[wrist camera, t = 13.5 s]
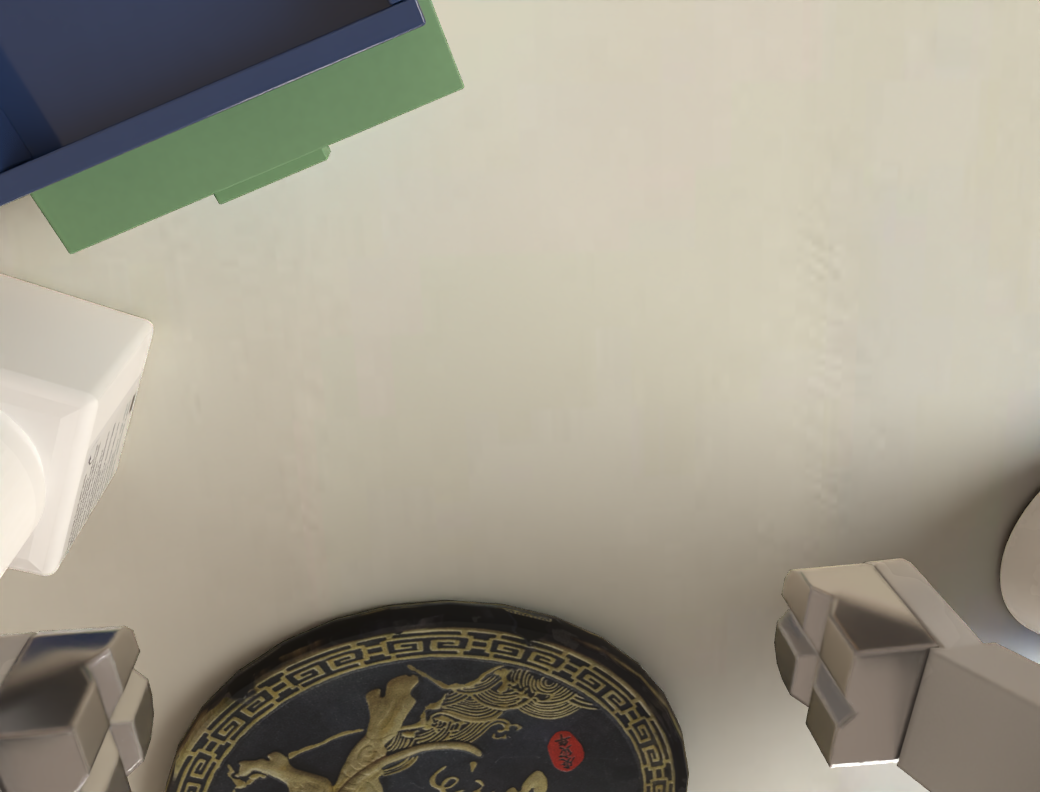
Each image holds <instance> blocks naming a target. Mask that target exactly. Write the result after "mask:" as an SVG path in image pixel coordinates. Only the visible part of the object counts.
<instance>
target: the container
mask: <svg viewBox="0 0 1040 792" xmlns="http://www.w3.org/2000/svg"><path fill="white" fill-rule="evenodd" d="M153 332H154V330H153V324H152V323H151V322H150V321H148V320H147V319H144V318H140V317H137V316H134V315H131V314H128V313H125V312H121V311H118V310H115V309H112V308H109V307H106V306H102V305H99V304H96V303H93V302H90V301H87V300H83V299H80V298H77V297H74V296H71V295H68V294H64V293H61V292H58V291H55V290H52V289H49V288H45V287H42V286H39V285H36V284H33V283H30V282H26V281H23V280H20V279H17V278H14V277H11V276H7V275H4V274H1V273H0V578H1V576H2V575H3V574H4V572H5V571H6V569H7V568H10V569H14V570H19V571H23V572H28V573H32V574H37V575H41V576H49V575H51V574H53V573H55V572H56V571H57V569H58V568H59V566H60V564H61V563H62V561H63V559H64V558H65V556H66V554H67V553H68V551H69V549H70V548H71V546H72V544H73V543H74V541H75V539H76V538H77V536H78V534H79V533H80V531H81V529H82V528H83V526H84V524H85V523H86V521H87V519H88V518H89V516H90V514H91V512H92V511H93V509H94V507H95V506H96V504H97V502H98V501H99V499H100V497H101V496H102V494H103V492H104V491H105V489H106V487H107V486H108V484H109V482H110V481H111V479H112V477H113V476H114V474H115V472H116V471H117V468H118V464H119V460H120V456H121V453H122V449H123V445H124V441H125V438H126V434H127V430H128V426H129V423H130V419H131V415H132V411H133V407H134V404H135V400H136V396H137V392H138V389H139V385H140V381H141V377H142V374H143V370H144V366H145V362H146V359H147V355H148V351H149V347H150V343H151V340H152V336H153Z"/></svg>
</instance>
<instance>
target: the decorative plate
mask: <svg viewBox="0 0 1040 792" xmlns="http://www.w3.org/2000/svg"><path fill="white" fill-rule="evenodd" d="M688 776H689V771H688V764H687V758H686V752H685V747H684V741H683V735H682V731H681V728H680V725H679V723H678V721H677V719H676V717H675V715H674V713H673V711H672V709H671V707H670V705H669V703H668V701H667V699H666V696H665V694H664V692H663V691H662V690H661V689H660V688H659V687H658V686H657V684H656V683H655V682H654V681H653V680H652V679H651V678H650V677H649V675H648V674H647V673H646V672H645V671H644V670H643V669H642V667H641V666H640V665H639V664H638V663H637V662H636V661H634V660H633V659H631V658H630V657H629V656H627V655H626V654H624V653H623V652H622V651H620V650H619V649H617V648H616V647H615V646H613V645H612V644H610V643H609V642H608V641H606V640H605V639H603V638H602V637H600V636H598V635H596V634H594V633H591V632H589V631H587V630H585V629H582V628H580V627H578V626H575V625H573V624H571V623H569V622H566V621H564V620H562V619H559V618H557V617H555V616H551V615H546V614H542V613H538V612H534V611H530V610H525V609H521V608H517V607H513V606H509V605H505V604H492V603H478V602H464V601H449V600H447V601H436V602H424V603H413V604H401V605H390V606H386V607H382V608H378V609H374V610H370V611H366V612H362V613H358V614H354V615H350V616H346V617H342V618H338V619H335V620H332V621H330V622H328V623H325V624H323V625H321V626H318V627H316V628H314V629H311V630H309V631H307V632H304V633H302V634H300V635H297V636H295V637H293V638H290V639H288V640H286V641H283V642H282V643H280V644H279V645H277V646H276V647H274V648H273V649H271V650H270V651H268V652H267V653H265V654H264V655H262V656H261V657H259V658H257V659H256V660H254V661H253V662H251V663H250V664H248V665H247V666H245V667H244V668H242V669H241V670H239V671H238V672H237V673H236V674H235V675H234V676H233V677H232V678H231V679H230V680H229V681H228V682H227V683H226V684H225V685H224V686H223V687H222V688H221V689H220V690H219V691H218V692H217V693H216V694H215V695H214V696H213V697H212V698H211V699H210V700H209V701H208V702H207V703H206V704H205V705H204V706H203V707H202V708H201V710H200V711H199V713H198V715H197V716H196V718H195V719H194V721H193V722H192V724H191V726H190V727H189V729H188V730H187V732H186V734H185V735H184V737H183V738H182V740H181V741H180V743H179V745H178V748H177V751H176V755H175V758H174V761H173V764H172V767H171V771H170V774H169V777H168V780H167V784H166V788H165V792H687V786H688Z"/></svg>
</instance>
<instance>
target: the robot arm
mask: <svg viewBox="0 0 1040 792" xmlns="http://www.w3.org/2000/svg"><path fill="white" fill-rule="evenodd" d="M1000 586H1001V592H1002V596H1003V599H1004V602H1005V604H1006V606H1007V608H1008V610H1009V611H1010V613H1011V614H1012V615H1013V617H1014V618H1015V619H1016V620H1017V621H1018V622H1019V623H1021V624H1022V625H1023V626H1025V627H1026V628H1028V629H1030V630H1032V631H1034V632H1036V633H1038V634H1040V492H1039V493H1038V494H1037V495H1036V496H1035V497H1034V499H1033V500H1032V501H1031V502H1030V504H1029V505H1028V506H1027V508H1026V509H1025V511H1024V512H1023V513H1022V515H1021V516H1020V518H1019V520H1018V521H1017V523H1016V525H1015V527H1014V529H1013V531H1012V533H1011V535H1010V537H1009V539H1008V542H1007V544H1006V547H1005V550H1004V554H1003V558H1002V563H1001V570H1000ZM782 596H783V598H784V599H785V601H786V603H787V604H788V606H789V609H788V610H787V612H786V613H785V614H784V615H783V616H782V617H781V618H780V619H779V620H778V621H777V625H776V633H775V641H774V644H775V652H776V660H777V665H778V668H779V671H780V674H781V677H782V680H783V682H784V684H785V686H786V688H787V690H788V692H789V693H790V695H791V696H792V697H794V698H795V699H797V700H798V701H800V702H801V703H803V704H804V705H806V706H807V707H809V709H808V714H807V719H806V725H807V727H808V729H809V730H810V732H811V734H812V736H813V738H814V739H815V741H816V743H817V745H818V747H819V748H820V750H821V752H822V754H823V756H824V758H825V759H826V761H827V763H828V765H829V767H830V768H832V767H844V766H856V765H868V764H880V763H893V762H898V764H897V766H898V767H899V768H901V769H902V770H903V771H904V772H906V773H907V774H908V775H910V776H911V777H912V778H913V779H915V780H916V781H917V782H918V783H920V784H921V785H922V786H923V787H925V788H926V789H927V790H929V791H930V792H1040V664H1038V663H1035V662H1033V661H1031V660H1029V659H1027V658H1025V657H1023V656H1021V655H1019V654H1017V653H1015V652H1013V651H1011V650H1009V649H1007V648H1005V647H1003V646H1001V645H999V644H997V643H984V644H983V643H982V641H981V640H980V639H979V638H978V637H977V636H976V635H975V634H974V633H973V631H972V630H971V629H970V628H969V627H968V626H967V625H966V624H965V622H964V621H963V620H962V619H961V618H960V617H959V616H958V615H957V613H956V612H955V611H954V610H953V609H952V608H951V607H950V606H949V604H948V603H947V602H946V601H945V600H944V599H943V598H942V597H941V596H940V594H939V593H938V592H937V591H936V590H935V589H934V588H933V587H932V585H931V584H930V583H929V582H928V581H927V580H926V579H925V578H924V576H923V575H922V574H921V573H920V572H919V571H918V570H917V569H916V567H915V566H914V565H913V564H912V563H910V562H909V561H907V560H905V559H902V558H897V559H888V560H879V561H869V562H864V563H858V564H847V565H836V566H825V567H814V568H803V569H792V570H790V571H789V572H788V574H787V576H786V577H785V579H784V585H783V590H782ZM139 653H140V649H139V646H138V643H137V640H136V637H135V634H134V631H133V630H132V629H130V628H128V627H126V626H116V627H100V628H84V629H68V630H52V631H39V632H38V633H35V632H31V633H16V634H1V635H0V792H131V789H130V786H129V783H128V780H127V776H128V775H129V774H130V773H131V772H132V771H133V770H134V769H135V768H137V767H138V766H139V765H140V764H141V763H142V762H143V761H144V759H145V756H146V753H147V750H148V746H149V743H150V740H151V733H152V725H153V717H154V710H153V698H152V692H151V688H150V685H149V681H148V679H147V678H146V677H144V676H143V675H142V674H140V673H139V672H138V671H136V670H135V669H134V665H135V663H136V660H137V658H138V655H139Z"/></svg>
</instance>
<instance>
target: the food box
mask: <svg viewBox="0 0 1040 792" xmlns="http://www.w3.org/2000/svg"><path fill="white" fill-rule="evenodd" d="M418 2H419V4H420V7H421V10H422V12H423V15H424V17H425V20H426V24H425V25H424V26H422V27H420V28H417V29H415V30H413V31H410V32H408V33H406V34H403V35H401V36H399V37H396V38H394V39H392V40H389V41H387V42H385V43H382V44H380V45H378V46H375V47H373V48H371V49H368V50H366V51H364V52H361V53H359V54H357V55H354V56H352V57H350V58H347V59H345V60H342V61H340V62H338V63H335V64H333V65H331V66H328V67H326V68H324V69H321V70H319V71H317V72H314V73H312V74H310V75H307V76H305V77H303V78H300V79H298V80H296V81H293V82H291V83H289V84H286V85H284V86H282V87H279V88H277V89H275V90H272V91H270V92H267V93H265V94H263V95H260V96H258V97H256V98H253V99H251V100H249V101H246V102H244V103H242V104H239V105H237V106H235V107H232V108H230V109H228V110H225V111H223V112H221V113H218V114H216V115H214V116H211V117H209V118H207V119H204V120H202V121H200V122H197V123H195V124H193V125H190V126H188V127H185V128H183V129H181V130H178V131H176V132H174V133H171V134H169V135H167V136H164V137H162V138H160V139H157V140H155V141H153V142H150V143H148V144H146V145H143V146H141V147H139V148H136V149H134V150H132V151H129V152H127V153H125V154H122V155H120V156H118V157H115V158H113V159H110V160H108V161H106V162H103V163H101V164H99V165H96V166H94V167H92V168H89V169H87V170H85V171H82V172H80V173H78V174H75V175H73V176H71V177H68V178H66V179H64V180H61V181H59V182H57V183H54V184H52V185H50V186H47V187H45V188H43V189H40V190H38V191H36V192H33V193H31V194H30V195H31V196H32V198H33V199H34V201H35V202H36V204H37V205H38V207H39V208H40V210H41V211H42V213H43V214H44V216H45V217H46V219H47V220H48V222H49V223H50V225H51V226H52V228H53V229H54V231H55V232H56V234H57V235H58V237H59V238H60V240H61V241H62V243H63V244H64V246H65V247H66V249H67V250H68V252H69V253H70V254H73V253H75V252H78V251H80V250H82V249H85V248H87V247H90V246H92V245H94V244H97V243H99V242H101V241H104V240H106V239H108V238H111V237H113V236H116V235H118V234H120V233H123V232H125V231H127V230H130V229H132V228H135V227H137V226H139V225H142V224H144V223H146V222H149V221H151V220H153V219H156V218H158V217H161V216H163V215H165V214H168V213H170V212H172V211H175V210H177V209H179V208H182V207H184V206H187V205H189V204H191V203H194V202H196V201H198V200H201V199H203V198H205V197H208V196H210V195H213V194H214V196H215V197H216V199H217V201H218V203H219V204H223V203H226V202H228V201H230V200H233V199H235V198H238V197H240V196H242V195H245V194H247V193H249V192H252V191H254V190H256V189H259V188H261V187H264V186H266V185H268V184H271V183H273V182H275V181H278V180H280V179H283V178H285V177H287V176H290V175H292V174H294V173H297V172H299V171H301V170H304V169H306V168H309V167H311V166H313V165H316V164H318V163H320V162H323V161H325V160H327V159H328V157H329V154H330V152H331V151H330V148H329V146H328V145H331V144H333V143H335V142H338V141H340V140H343V139H345V138H347V137H350V136H352V135H354V134H357V133H359V132H362V131H364V130H366V129H369V128H371V127H373V126H376V125H378V124H380V123H383V122H385V121H388V120H390V119H392V118H395V117H397V116H399V115H402V114H404V113H406V112H409V111H411V110H414V109H416V108H418V107H421V106H423V105H425V104H428V103H430V102H432V101H435V100H437V99H440V98H442V97H444V96H447V95H449V94H451V93H454V92H456V91H458V90H461V89H463V88H464V84H463V82H462V79H461V77H460V74H459V71H458V69H457V66H456V64H455V61H454V59H453V56H452V53H451V51H450V48H449V46H448V43H447V40H446V38H445V35H444V33H443V30H442V27H441V25H440V22H439V20H438V17H437V15H436V12H435V9H434V7H433V4H432V2H431V0H418Z"/></svg>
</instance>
